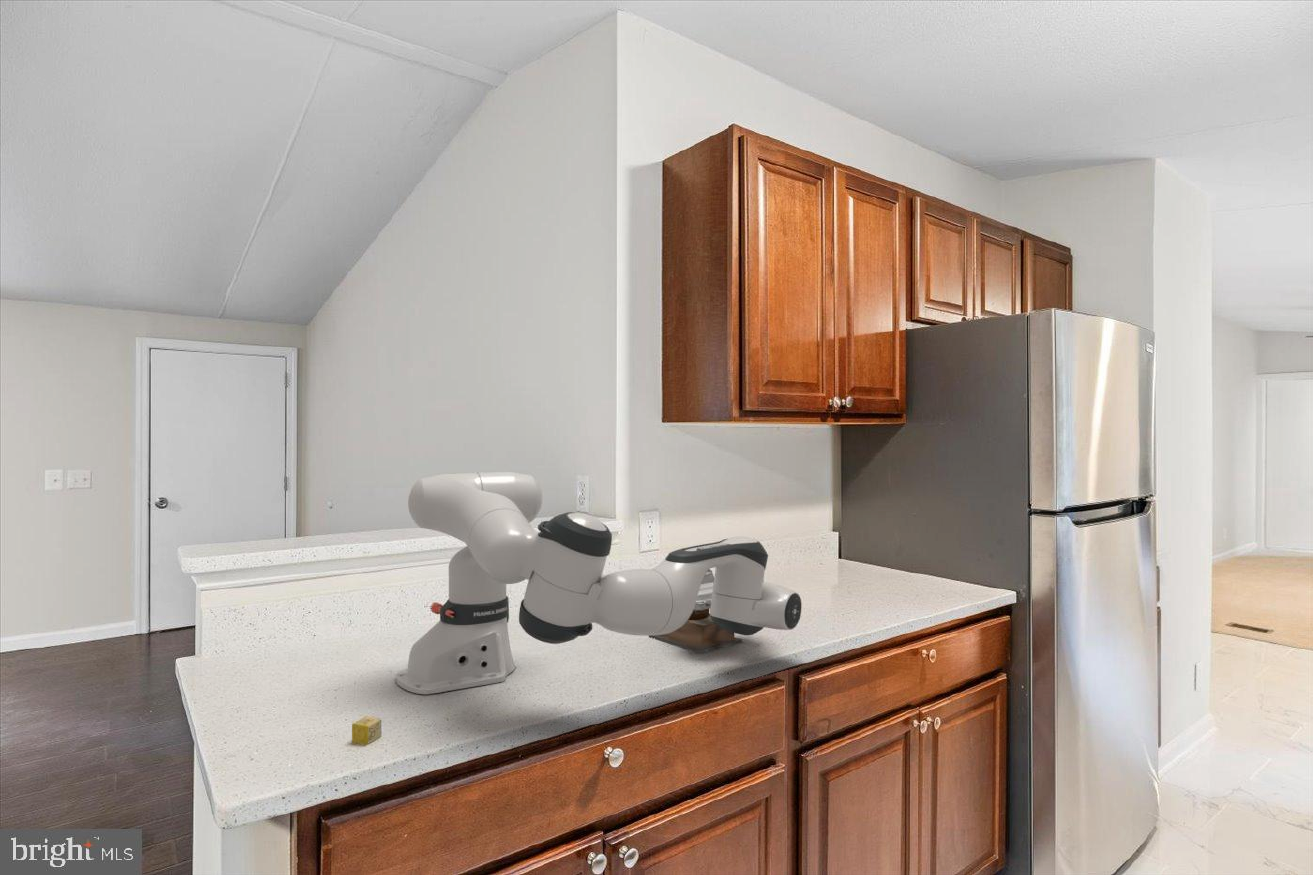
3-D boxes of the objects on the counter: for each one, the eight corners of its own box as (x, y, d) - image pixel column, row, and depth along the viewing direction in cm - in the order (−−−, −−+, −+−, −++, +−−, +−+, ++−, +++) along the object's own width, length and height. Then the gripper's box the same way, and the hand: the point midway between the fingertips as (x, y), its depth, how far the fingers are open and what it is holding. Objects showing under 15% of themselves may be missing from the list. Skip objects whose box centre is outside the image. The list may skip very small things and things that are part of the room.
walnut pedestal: (699, 653, 157) (699, 629, 157) (648, 636, 170) (648, 614, 170) (742, 642, 165) (742, 619, 165) (690, 626, 178) (690, 605, 178)
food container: (685, 624, 160) (684, 578, 160) (666, 619, 165) (666, 574, 165) (726, 615, 168) (725, 571, 168) (707, 610, 173) (707, 567, 173)
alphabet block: (381, 737, 115) (381, 717, 115) (368, 745, 112) (368, 725, 112) (365, 734, 116) (365, 715, 116) (351, 742, 113) (351, 723, 113)
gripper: (700, 620, 151) (656, 608, 161) (768, 605, 164) (723, 595, 174) (700, 589, 151) (656, 579, 161) (768, 576, 164) (723, 568, 174)
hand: (692, 587), depth 168 cm, fingers open, 8 cm apart
